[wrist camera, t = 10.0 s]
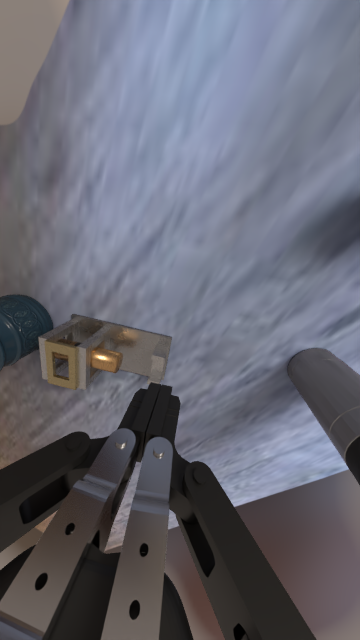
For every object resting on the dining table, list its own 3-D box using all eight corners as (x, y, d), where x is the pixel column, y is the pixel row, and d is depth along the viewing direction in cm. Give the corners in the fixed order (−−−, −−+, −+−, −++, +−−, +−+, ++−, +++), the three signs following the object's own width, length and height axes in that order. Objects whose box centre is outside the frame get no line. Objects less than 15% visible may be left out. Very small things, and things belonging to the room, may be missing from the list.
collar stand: (172, 337, 39) (161, 364, 30) (163, 378, 44) (152, 413, 34) (73, 313, 41) (33, 333, 31) (74, 356, 45) (39, 384, 35)
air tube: (123, 348, 38) (114, 359, 34) (122, 365, 40) (113, 378, 36) (63, 334, 39) (47, 343, 35) (64, 351, 40) (49, 362, 36)
